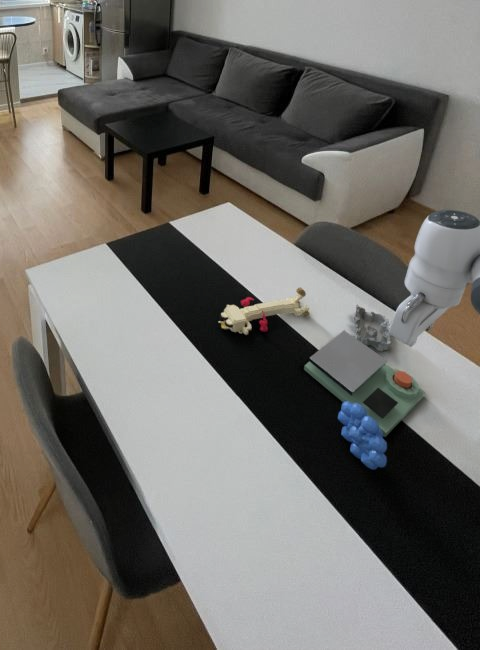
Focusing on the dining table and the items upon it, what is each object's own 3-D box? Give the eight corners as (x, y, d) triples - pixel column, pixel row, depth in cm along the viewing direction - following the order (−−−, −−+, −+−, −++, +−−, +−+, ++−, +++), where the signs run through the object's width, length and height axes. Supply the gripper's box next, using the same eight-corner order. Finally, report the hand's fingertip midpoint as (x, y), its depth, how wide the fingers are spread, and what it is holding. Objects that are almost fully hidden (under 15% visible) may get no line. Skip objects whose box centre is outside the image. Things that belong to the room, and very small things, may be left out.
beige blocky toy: (288, 299, 123) (210, 313, 118) (294, 275, 120) (214, 288, 115) (313, 326, 114) (230, 343, 109) (320, 301, 111) (235, 317, 106)
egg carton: (352, 313, 116) (355, 302, 115) (386, 324, 112) (389, 312, 111) (352, 343, 108) (355, 331, 106) (388, 356, 104) (392, 343, 102)
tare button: (412, 384, 95) (414, 378, 94) (405, 391, 93) (407, 385, 93) (398, 373, 97) (399, 368, 96) (390, 380, 96) (392, 375, 95)
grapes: (399, 485, 80) (413, 444, 75) (363, 489, 80) (376, 448, 75) (357, 421, 91) (368, 382, 86) (326, 424, 90) (336, 385, 86)
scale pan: (415, 384, 94) (417, 381, 94) (381, 420, 88) (382, 416, 87) (343, 333, 107) (344, 330, 107) (308, 361, 101) (309, 357, 100)
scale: (423, 396, 95) (427, 386, 94) (385, 437, 87) (388, 428, 86) (342, 338, 109) (344, 329, 108) (303, 369, 102) (305, 360, 101)
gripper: (425, 318, 77) (408, 371, 82) (476, 273, 86) (457, 323, 92) (388, 296, 82) (373, 347, 88) (439, 255, 92) (423, 304, 97)
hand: (417, 335), depth 90 cm, fingers open, 5 cm apart
